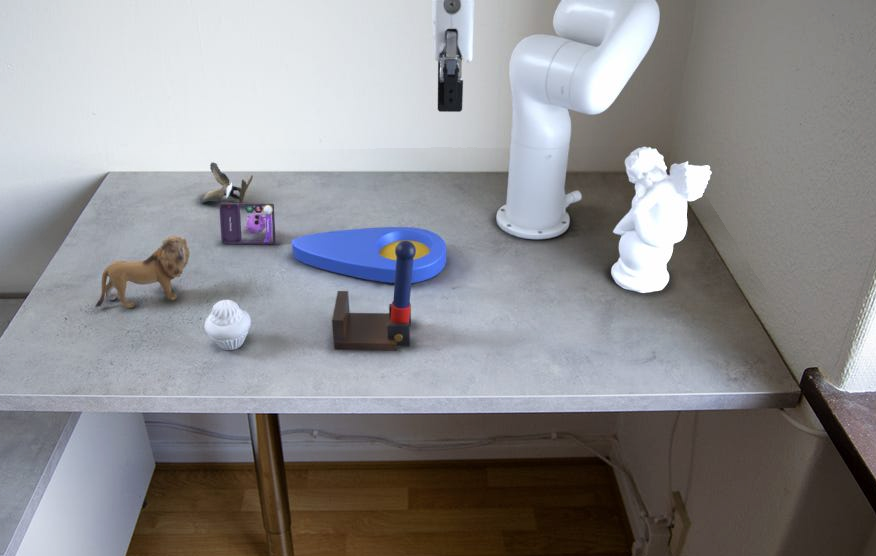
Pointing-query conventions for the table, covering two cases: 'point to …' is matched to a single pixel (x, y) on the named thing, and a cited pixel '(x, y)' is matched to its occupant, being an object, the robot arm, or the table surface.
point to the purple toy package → (254, 224)
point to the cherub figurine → (654, 218)
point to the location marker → (372, 252)
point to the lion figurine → (147, 271)
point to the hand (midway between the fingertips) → (449, 97)
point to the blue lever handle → (402, 282)
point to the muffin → (228, 325)
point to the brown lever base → (366, 328)
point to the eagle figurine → (224, 187)
